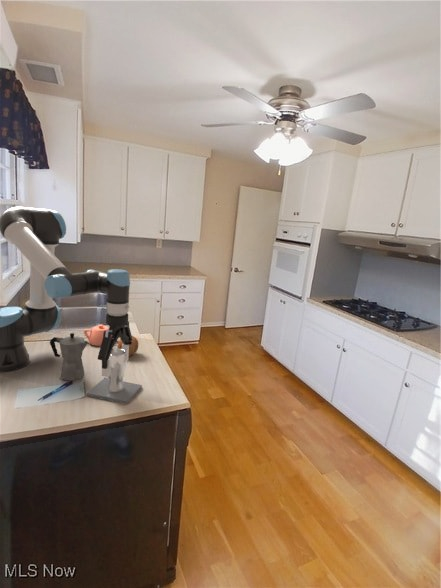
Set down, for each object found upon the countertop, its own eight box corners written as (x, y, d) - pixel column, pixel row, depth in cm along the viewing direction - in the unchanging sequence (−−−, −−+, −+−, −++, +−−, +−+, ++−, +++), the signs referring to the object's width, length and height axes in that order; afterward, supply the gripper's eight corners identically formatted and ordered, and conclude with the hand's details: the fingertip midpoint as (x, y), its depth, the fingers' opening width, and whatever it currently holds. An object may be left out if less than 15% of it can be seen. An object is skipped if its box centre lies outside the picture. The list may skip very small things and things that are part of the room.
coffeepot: (93, 371, 129) (93, 331, 125) (83, 382, 120) (83, 339, 116) (57, 367, 129) (56, 327, 125) (44, 378, 119) (42, 335, 116)
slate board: (86, 395, 111) (86, 392, 111) (104, 380, 123) (104, 377, 122) (127, 404, 108) (127, 401, 108) (141, 387, 120) (141, 385, 120)
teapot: (82, 339, 159) (82, 322, 157) (117, 336, 169) (117, 320, 167) (85, 348, 149) (85, 330, 147) (122, 344, 159) (123, 327, 157)
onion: (125, 349, 153) (125, 330, 151) (142, 353, 150) (143, 334, 148) (112, 356, 144) (113, 336, 142) (130, 361, 141) (131, 340, 139)
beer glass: (103, 386, 116) (103, 350, 112) (120, 382, 120) (122, 346, 117) (109, 395, 111) (110, 357, 107) (128, 390, 115) (129, 353, 112)
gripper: (108, 325, 96) (106, 385, 101) (142, 306, 120) (140, 356, 125) (86, 321, 97) (86, 381, 102) (124, 303, 121) (123, 352, 126)
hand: (115, 367), depth 113 cm, fingers open, 13 cm apart
